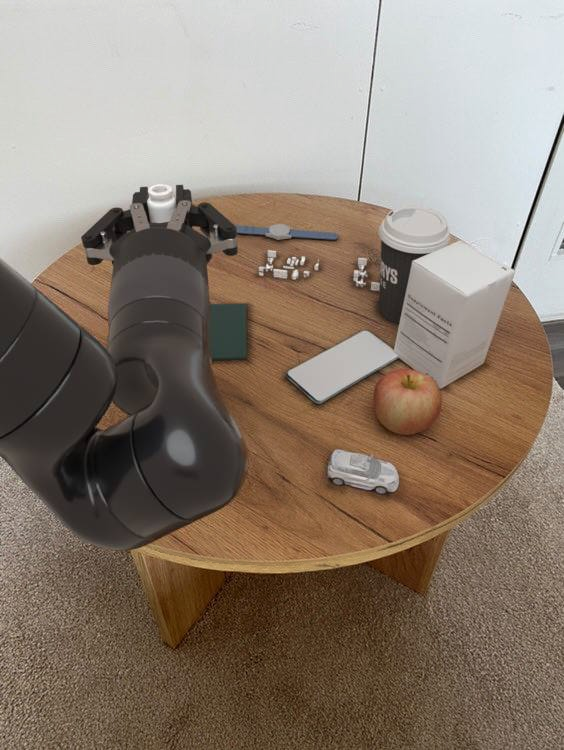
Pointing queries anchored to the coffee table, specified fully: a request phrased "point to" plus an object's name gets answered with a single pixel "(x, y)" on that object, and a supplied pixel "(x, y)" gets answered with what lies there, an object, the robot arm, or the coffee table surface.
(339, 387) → the smartphone
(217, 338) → the mat
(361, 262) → the miniature furniture
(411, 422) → the apple
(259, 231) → the wristwatch
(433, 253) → the white product box
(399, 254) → the coffee cup
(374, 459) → the toy car
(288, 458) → the coffee table surface
